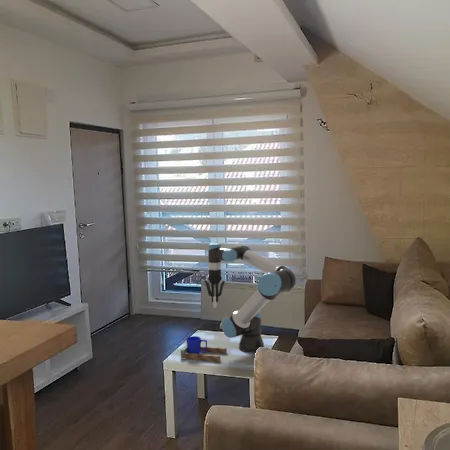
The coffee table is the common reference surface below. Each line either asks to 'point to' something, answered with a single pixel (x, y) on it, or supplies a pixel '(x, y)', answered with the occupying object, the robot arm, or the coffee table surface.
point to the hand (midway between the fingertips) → (215, 307)
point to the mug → (195, 344)
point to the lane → (204, 356)
